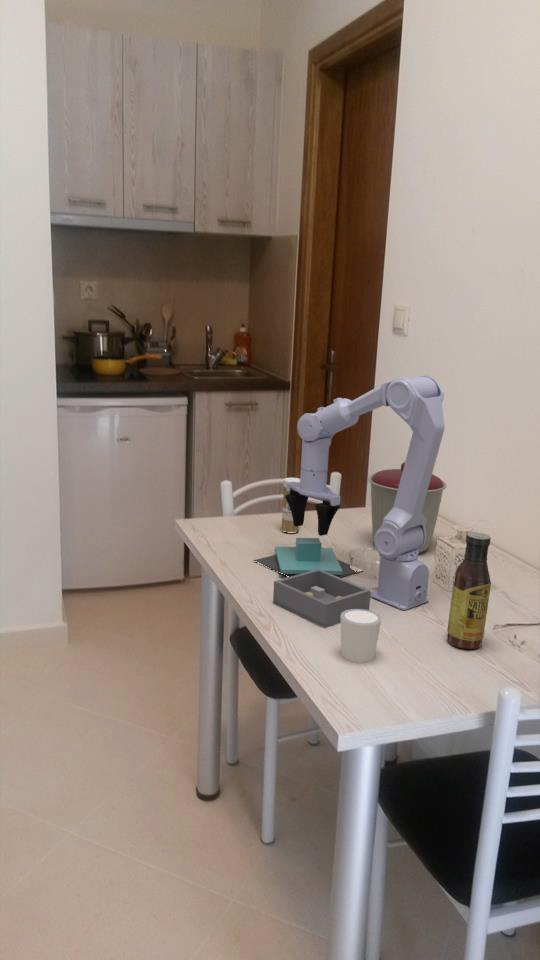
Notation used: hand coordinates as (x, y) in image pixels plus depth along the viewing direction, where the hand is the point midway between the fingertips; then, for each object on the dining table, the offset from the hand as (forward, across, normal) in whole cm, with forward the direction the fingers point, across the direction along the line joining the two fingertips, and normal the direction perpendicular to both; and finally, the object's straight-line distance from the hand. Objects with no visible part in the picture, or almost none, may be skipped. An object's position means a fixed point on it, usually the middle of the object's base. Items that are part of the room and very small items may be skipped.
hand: (310, 530), depth 174 cm
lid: (+8, 0, 0) cm, 8 cm away
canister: (+9, -3, -28) cm, 29 cm away
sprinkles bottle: (+8, +21, -14) cm, 27 cm away
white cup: (+9, -36, +23) cm, 44 cm away
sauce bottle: (+9, -44, +4) cm, 45 cm away
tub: (+8, -18, +14) cm, 24 cm away
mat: (+8, 0, 0) cm, 8 cm away
